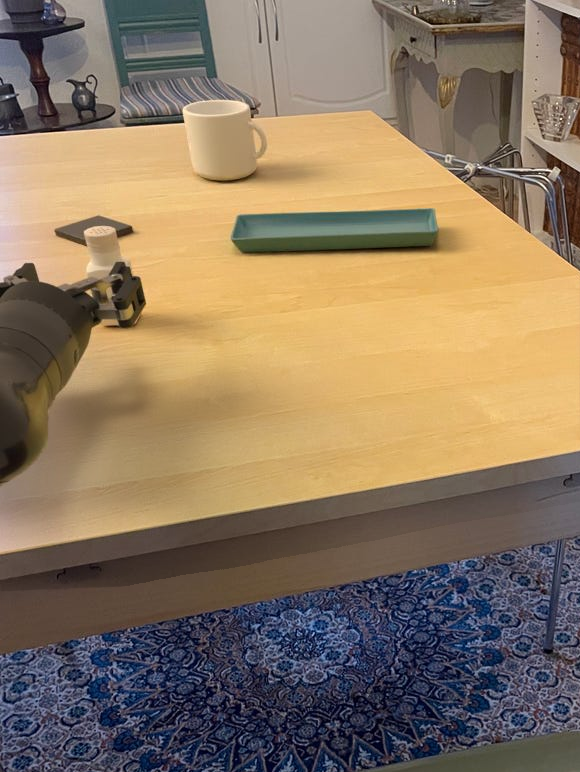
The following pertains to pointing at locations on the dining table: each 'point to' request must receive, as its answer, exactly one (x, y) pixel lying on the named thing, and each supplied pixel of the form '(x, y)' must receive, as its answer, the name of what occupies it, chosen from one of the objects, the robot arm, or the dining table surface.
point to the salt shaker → (104, 257)
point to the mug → (222, 139)
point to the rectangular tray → (334, 230)
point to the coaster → (78, 228)
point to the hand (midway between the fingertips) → (78, 272)
